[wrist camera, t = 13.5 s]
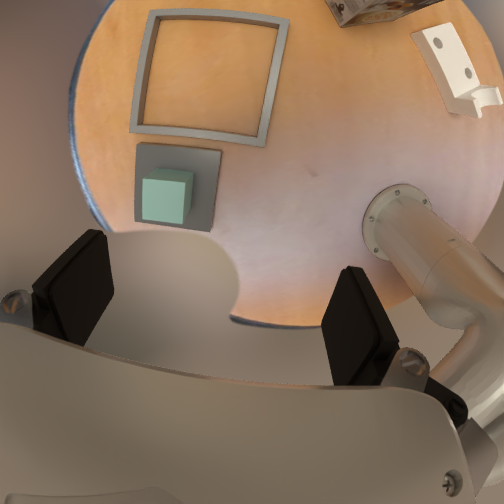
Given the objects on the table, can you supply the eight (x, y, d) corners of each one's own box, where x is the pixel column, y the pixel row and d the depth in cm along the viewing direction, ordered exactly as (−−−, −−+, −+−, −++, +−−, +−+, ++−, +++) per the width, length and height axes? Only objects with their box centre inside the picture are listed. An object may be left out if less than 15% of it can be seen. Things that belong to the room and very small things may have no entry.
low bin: (287, 23, 24) (289, 19, 23) (263, 145, 33) (264, 147, 31) (154, 14, 23) (149, 9, 21) (135, 131, 31) (129, 132, 29)
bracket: (471, 98, 27) (503, 103, 20) (446, 111, 29) (478, 118, 22) (437, 25, 21) (467, 18, 15) (408, 34, 23) (438, 26, 17)
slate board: (222, 150, 33) (220, 152, 32) (211, 227, 38) (210, 232, 37) (140, 142, 32) (136, 143, 31) (138, 217, 37) (134, 221, 36)
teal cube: (194, 171, 33) (185, 182, 28) (190, 208, 35) (182, 224, 31) (156, 168, 32) (142, 178, 28) (154, 204, 35) (142, 219, 30)
